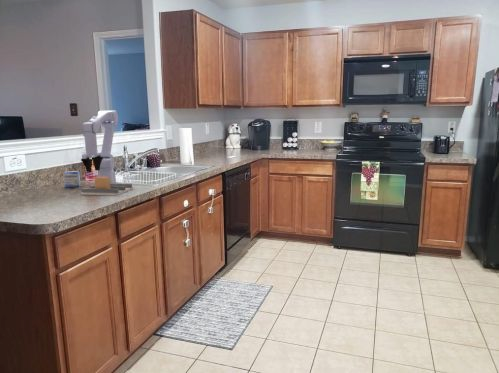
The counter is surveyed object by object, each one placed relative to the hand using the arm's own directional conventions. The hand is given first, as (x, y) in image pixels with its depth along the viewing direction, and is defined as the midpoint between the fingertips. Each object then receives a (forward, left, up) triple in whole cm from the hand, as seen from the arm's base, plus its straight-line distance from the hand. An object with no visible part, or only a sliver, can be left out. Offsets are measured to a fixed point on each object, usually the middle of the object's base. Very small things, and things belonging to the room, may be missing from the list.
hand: (93, 171), depth 204 cm
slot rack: (+2, +9, -10) cm, 14 cm away
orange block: (+6, +8, -9) cm, 14 cm away
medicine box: (-10, -20, -11) cm, 25 cm away
